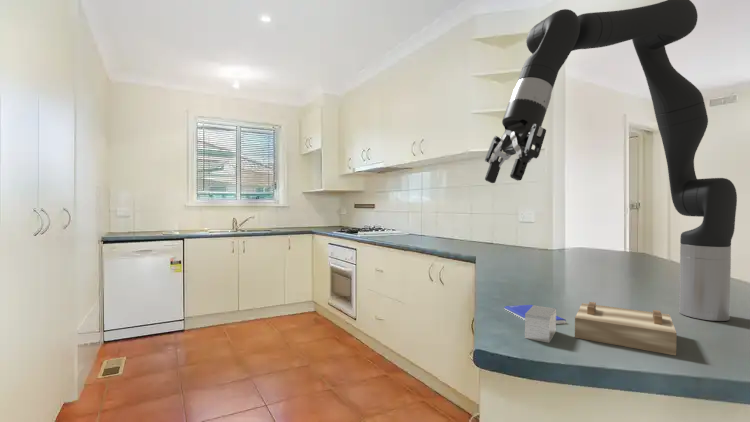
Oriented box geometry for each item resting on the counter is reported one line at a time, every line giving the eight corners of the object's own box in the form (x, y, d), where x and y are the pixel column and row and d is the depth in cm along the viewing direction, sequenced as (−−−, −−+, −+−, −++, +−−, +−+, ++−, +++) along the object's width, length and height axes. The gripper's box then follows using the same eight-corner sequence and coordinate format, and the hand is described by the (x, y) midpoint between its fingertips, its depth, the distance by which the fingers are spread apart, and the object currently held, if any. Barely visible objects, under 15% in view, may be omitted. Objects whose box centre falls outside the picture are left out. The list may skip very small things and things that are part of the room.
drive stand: (581, 320, 88) (582, 296, 88) (669, 333, 79) (669, 307, 79) (574, 337, 76) (575, 310, 76) (676, 355, 67) (676, 324, 67)
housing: (533, 328, 82) (533, 305, 82) (555, 332, 80) (556, 308, 80) (524, 338, 76) (525, 313, 76) (549, 343, 73) (549, 317, 73)
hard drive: (504, 306, 96) (533, 320, 84) (533, 304, 98) (566, 318, 85) (504, 312, 96) (533, 327, 84) (533, 310, 98) (566, 325, 85)
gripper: (568, 105, 71) (541, 186, 70) (519, 121, 85) (496, 189, 83) (537, 88, 69) (508, 170, 68) (492, 107, 83) (467, 175, 81)
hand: (501, 180), depth 75 cm, fingers open, 8 cm apart
